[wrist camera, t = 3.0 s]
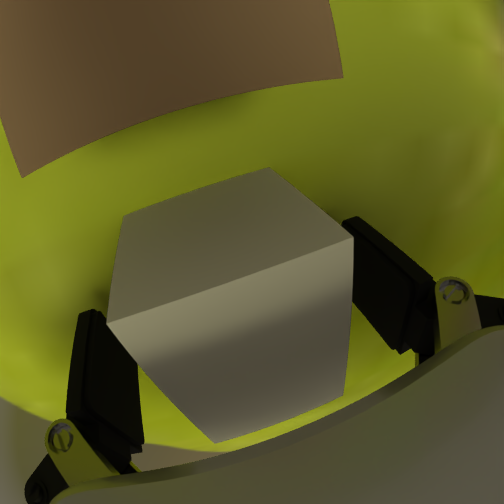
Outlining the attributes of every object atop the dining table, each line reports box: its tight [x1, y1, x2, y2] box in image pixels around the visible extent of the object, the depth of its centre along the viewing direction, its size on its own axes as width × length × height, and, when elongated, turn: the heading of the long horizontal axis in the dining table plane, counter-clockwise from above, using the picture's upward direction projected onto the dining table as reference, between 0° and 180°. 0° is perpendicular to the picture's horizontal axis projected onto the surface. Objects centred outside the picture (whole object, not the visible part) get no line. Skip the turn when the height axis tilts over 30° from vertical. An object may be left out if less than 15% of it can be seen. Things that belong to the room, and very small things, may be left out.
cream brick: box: [106, 167, 354, 443], centre depth 9 cm, size 5×7×5 cm
